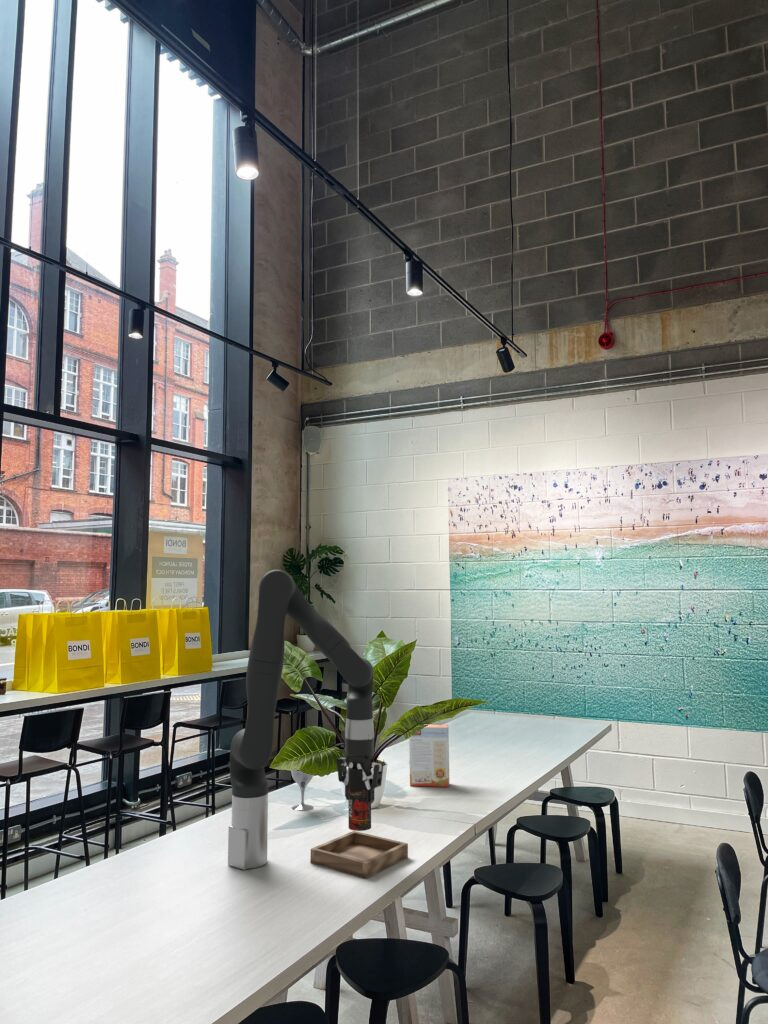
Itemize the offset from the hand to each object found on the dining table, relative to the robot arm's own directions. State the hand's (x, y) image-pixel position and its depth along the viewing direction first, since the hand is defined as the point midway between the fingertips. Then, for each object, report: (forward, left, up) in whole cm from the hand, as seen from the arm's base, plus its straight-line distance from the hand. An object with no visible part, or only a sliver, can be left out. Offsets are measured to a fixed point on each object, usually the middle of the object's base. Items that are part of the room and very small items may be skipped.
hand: (359, 801), depth 197 cm
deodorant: (0, 0, -7) cm, 7 cm away
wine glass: (+27, +44, -15) cm, 54 cm away
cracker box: (+75, +26, -15) cm, 81 cm away
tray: (0, 0, -15) cm, 15 cm away
